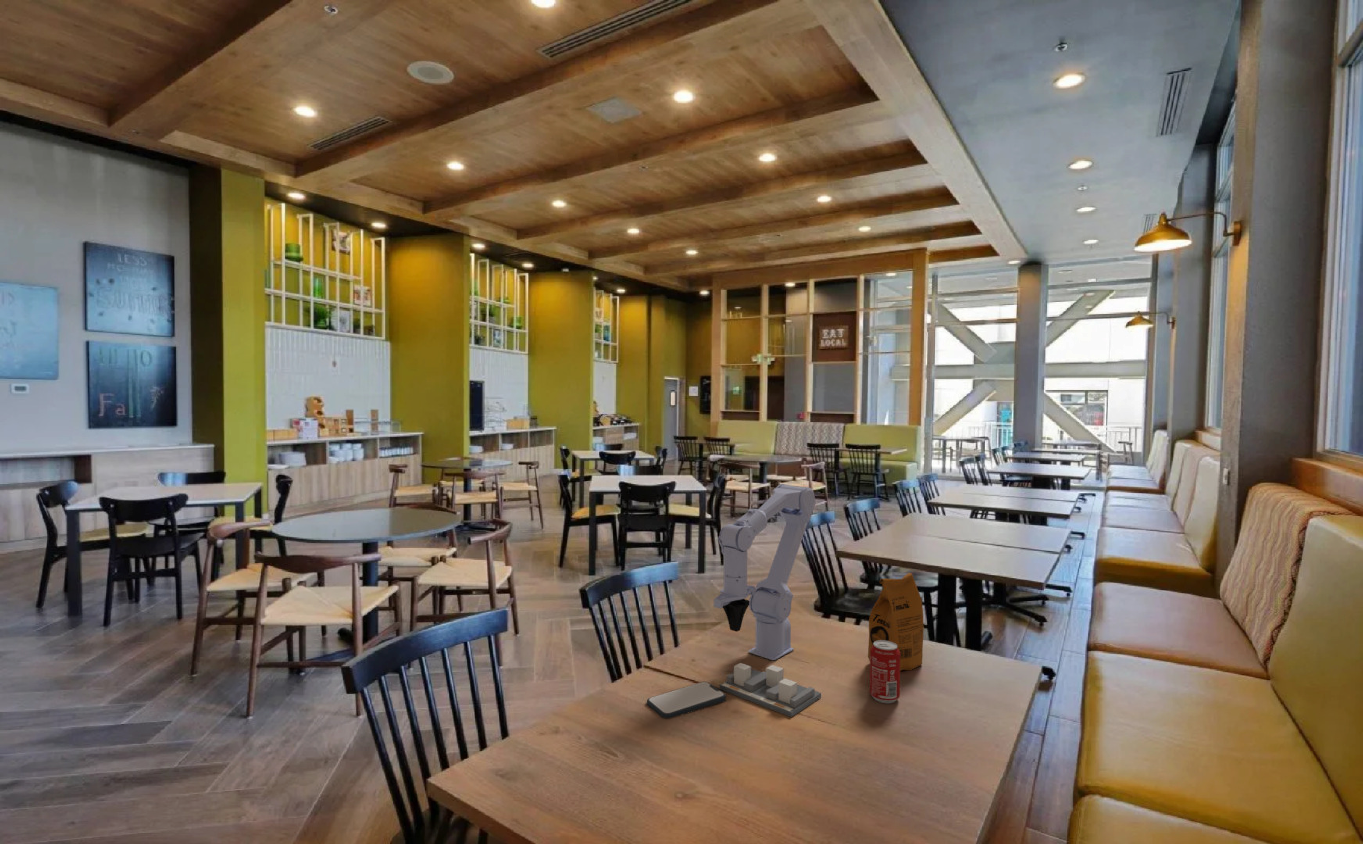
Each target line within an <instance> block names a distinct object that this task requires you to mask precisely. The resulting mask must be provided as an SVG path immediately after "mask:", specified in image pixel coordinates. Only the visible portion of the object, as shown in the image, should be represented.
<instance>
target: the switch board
mask: <svg viewBox="0 0 1363 844" xmlns="http://www.w3.org/2000/svg"><path fill="white" fill-rule="evenodd" d="M787 679H788V680H790V679H789V678H787ZM718 689H719V690H721V691H722V692H724V693H728V694H730V695H734V696H736V697H738V698H741V699H744V700H746V701H749V702H752V703H754V704H756V705H759V706H761V707H764V708H766V709H769V710H771V711H774V712H777V713H780V714H781V715H784V716H787V717H790V718H793V717H794V716H795V715H797V714H799V713H800V712H802V711H803V710H805V709H806V708H807V707H810V706H811V705H812V704H813V703H815V702H817V700H819V699H821V698H822V692H820V691H817V690H815V689H816V688H814V687H812V686H809V687H805V686H802V685H800V684H797V695H796V696H795V697H793V698H791V699H790V704H788V703H786V702H783V701H780V700H779V683H778V684H777V685H775V686H773V687H770V686H767V685H766V670H764V671H760V670H756V669H754V668H752V666H751V679H749V680H747V681H745V682H744V687H743V686H740V685H738V684H735V683H734V672H732V673H730V674H728V675H726V681H724V682H722V683H720V684H719V688H718Z"/></svg>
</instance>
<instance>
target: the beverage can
mask: <svg viewBox="0 0 1363 844" xmlns="http://www.w3.org/2000/svg"><path fill="white" fill-rule="evenodd" d="M900 691H901V671H900V651H899V650H898V648H897V645H896V644H895V643H893V642H891V641H885V640H879V641H875V642H874V643H873V646H872V647H871V649H870V661H869V694H870V696H872V698H873V700H875V701H876V702H879V703H880V704H881V703H882V704H893V703H895V702H896V701H897V700H898V699H899V698H900V697H901V696H900V695H901V694H900Z"/></svg>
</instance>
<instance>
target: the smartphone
mask: <svg viewBox="0 0 1363 844" xmlns="http://www.w3.org/2000/svg"><path fill="white" fill-rule="evenodd" d="M726 700H727V695H726V692H725V691H723V690H720V689H719V688H718V687H716V686H715V685H713V684H712V683H710V682H708V681H700V682H698V683H694V684H691V685H688V686H685V687H681V688H677V689H674V690H671V691H668V692H665V693H661V694H658V695H655V696H651V697H649V698H647V699H646V705H647V706H648V707H649V708H650V709H651V710H652V711H654V712H655V713H656V714H657V715H659V716H660V717H661V718H662V719H673V718H675V717H678V716H681V714H683V715H685V714H689V713H692V712H696V711H699V710H702V709H704V707H706V708H708V707H711V706H715V705H718V704H721V703H725V701H726ZM717 703H718V704H717ZM701 708H702V709H701ZM698 709H699V710H698ZM695 710H696V711H695ZM691 711H692V712H691ZM688 712H689V713H688Z"/></svg>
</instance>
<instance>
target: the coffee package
mask: <svg viewBox="0 0 1363 844" xmlns="http://www.w3.org/2000/svg"><path fill="white" fill-rule="evenodd" d="M879 584H880V585H881V586H882V589H881V591H880V593H879V596H878V599H877V601H876V602H875V603H874V605H873V607H872V609H871V611H870V614H869V619H868V646H867V647H868V648H867V649H868V650H867V651H868V652H867V658H868V660H869V661H868V662H870V649H871V647H872V646H873V643H874V642H875V641H879V640H885V641H891V642H893V643H895V644H896V645H897V648H898V650H899V651H900V672H901V671H903V670H904V671H912V669H913V670H915V669H916V668H918V667H919V666H921V665H923V655H924V654H923V651H924V650H923V647H924V611H923V610H924V609H923V601H922V597H921V594H920V592H919V590H918V586H917V583H916V581H915V578H914V576H913V573H911V572H910V573H909V572H908V573H906V574H905V575H904V577H902V578H884V577H883V578H881V579H880V580H879ZM914 668H915V669H914Z"/></svg>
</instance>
